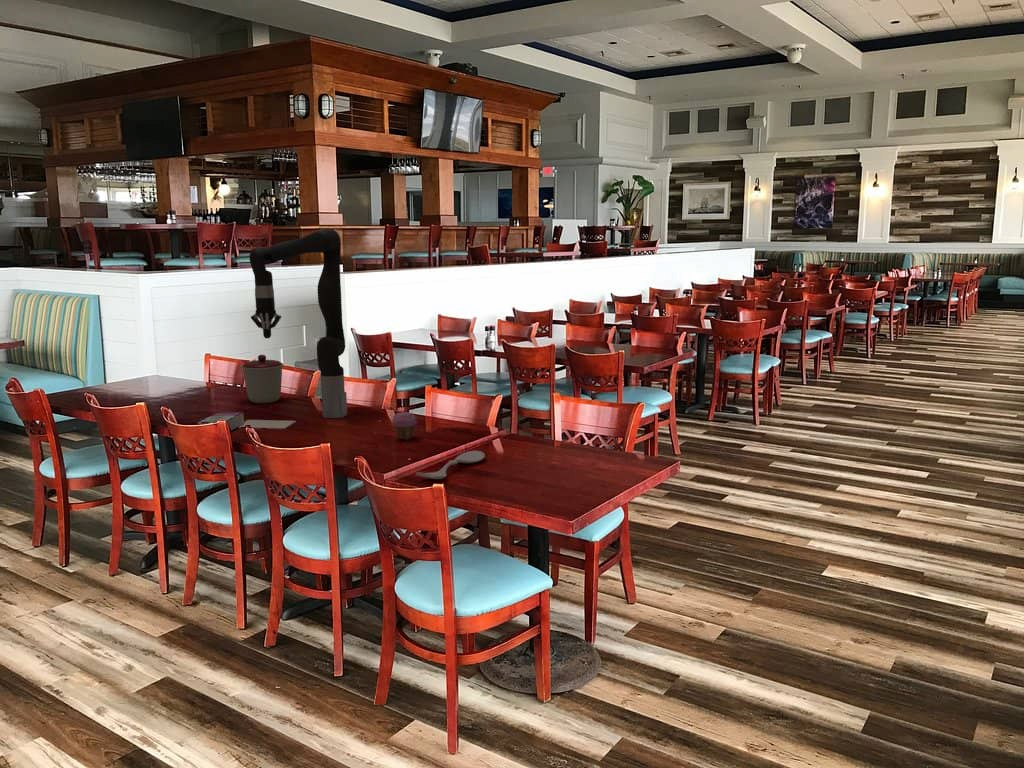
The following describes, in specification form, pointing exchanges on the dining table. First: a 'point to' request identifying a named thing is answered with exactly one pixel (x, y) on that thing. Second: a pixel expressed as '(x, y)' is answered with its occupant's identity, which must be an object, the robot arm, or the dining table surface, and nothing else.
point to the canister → (263, 379)
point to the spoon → (463, 458)
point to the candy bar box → (226, 419)
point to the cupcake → (404, 425)
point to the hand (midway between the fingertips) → (267, 338)
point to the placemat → (267, 424)
